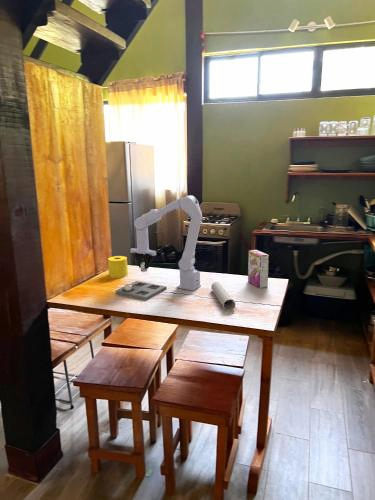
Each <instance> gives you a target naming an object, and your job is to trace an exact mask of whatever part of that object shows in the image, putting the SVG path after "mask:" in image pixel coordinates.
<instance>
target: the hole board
mask: <svg viewBox="0 0 375 500" xmlns="http://www.w3.org/2000/svg"><path fill="white" fill-rule="evenodd" d="M130 284H131V285H132V292H130V293H129V292H125V285H124V286H123V287H120V288H118V289H116V290H115V292H114V293H115V295H121V296H124V297H129V298H134V299H139V300H144V301H149V300H151V299H152V298H154V297H155V296H157V295H159V294H160V293H161V294H162V292H163V293H164V291H166V290H167V285H166V286H165V285H160V284H155V283H150V282H144V281H139V280H135V281H133V282H131V283H130Z"/></svg>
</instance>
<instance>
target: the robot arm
mask: <svg viewBox="0 0 375 500" xmlns="http://www.w3.org/2000/svg"><path fill="white" fill-rule="evenodd" d="M200 207H201V206H200V204H199V200H198V199H197V198H196V197H195V196H194V195H191V194H189V195H186V196H183V197H181V198H178V199H176V200H175V199H174V200H173V201H172V202H169V203H168V204H167V205H165V206H163V207H161V208H160V209H158V208H154V209H153V208H151V209H150V210H149V212H146V213H143V214H141V216H140V217H137V218H136V219H135V220H134V222H133V226H134V227H135V229H136V230H135V231H136V232H135V233H136V234H135V235H136V236H135V237H136V248H135V247H132V248H130V253H131V254H133V253H134V254H133V257H134V259H135V260H136V262H137V265H138V269H141V264H140V263H142V262H144V263H145V269H147V270H148V269H149V268H150V263H151V261H152V259H153V257H155V256H157V251H156V250H152V249H150V247H149V245H150V244H149V228H148V227H149V226H151V225H153V224H155V223H157V222H158V221H161V220H162V217H163V216H164V215H166V214H168V213H170V212H172V211H173V210H174V211H175V210H182V211H183V212H185V213H187V215H188V216H189V218H190V222H189V225H188V226H189V227H188V231H187V236H186V240H185V244H184V245H185V246H184V249H183V252H182V256H181V258H180V259H179V261H178V267H179V285H177V286H176V288H178V289H183V290H188V291H195V290H197V289H198V288H200V287H201V286H202V285H201V273H200V271H199V270H197V269H195V266H194V264H195V263H196V258H195V255H196V246H197V242H198V238H199V237H198V236H199V232H200V227H201V224H202V220H203V213H202V209H201V208H200Z"/></svg>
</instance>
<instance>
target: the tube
mask: <svg viewBox="0 0 375 500" xmlns="http://www.w3.org/2000/svg"><path fill="white" fill-rule="evenodd" d="M211 291H212V292H213V293H214V295H215V296H216V298H217V299H218V301H219V302H220V304H221V305H222V308H223V310H224V311H226V312H227V311H228V312H229V311H234V309H235V308H236V302H235V300H234V299H233V298H232V297H231V296H230V295H229V293H228V292H227V291H226V289H225V288H224V287H223V286H222V284H221V283H220V282H219V281H216V282H213V283H212V284H211Z"/></svg>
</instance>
